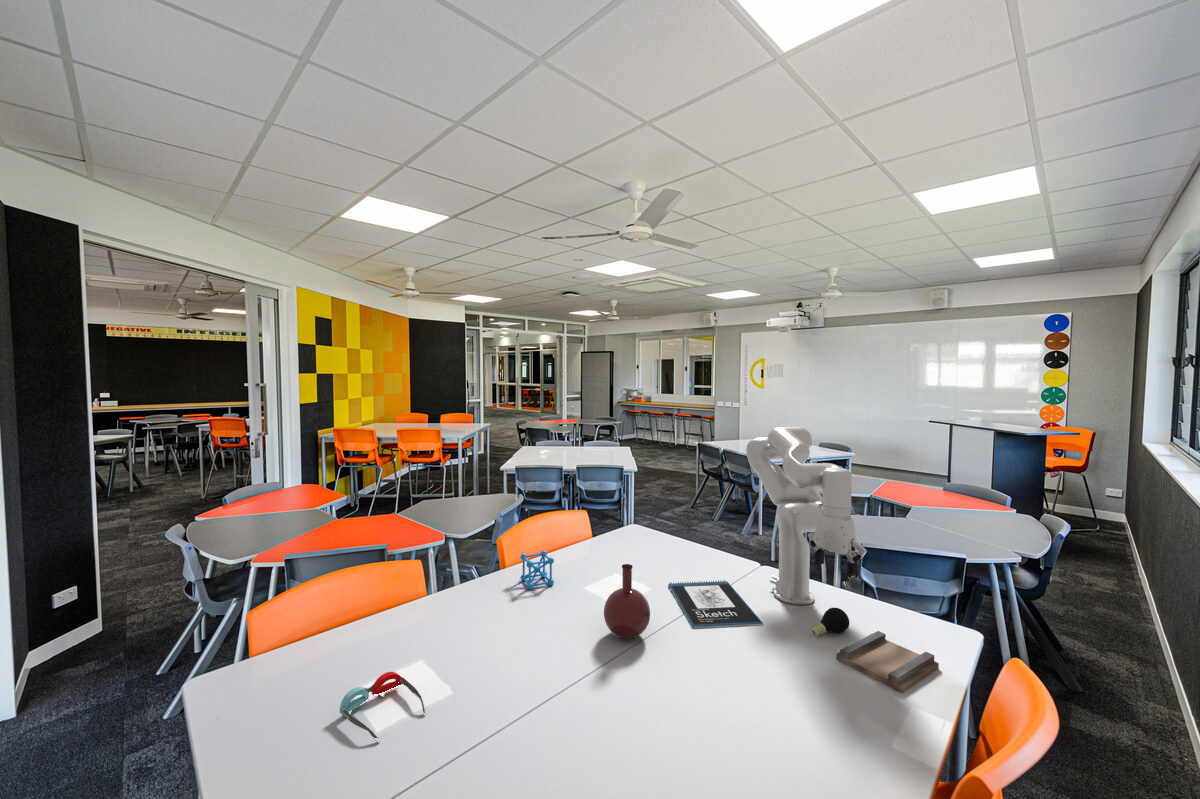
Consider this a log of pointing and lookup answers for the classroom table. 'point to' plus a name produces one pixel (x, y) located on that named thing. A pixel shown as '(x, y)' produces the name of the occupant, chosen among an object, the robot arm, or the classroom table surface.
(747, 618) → the sketchbook
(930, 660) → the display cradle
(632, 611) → the round-bottom flask
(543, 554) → the molecular structure
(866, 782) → the classroom table surface
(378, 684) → the novelty glasses
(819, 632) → the light bulb
